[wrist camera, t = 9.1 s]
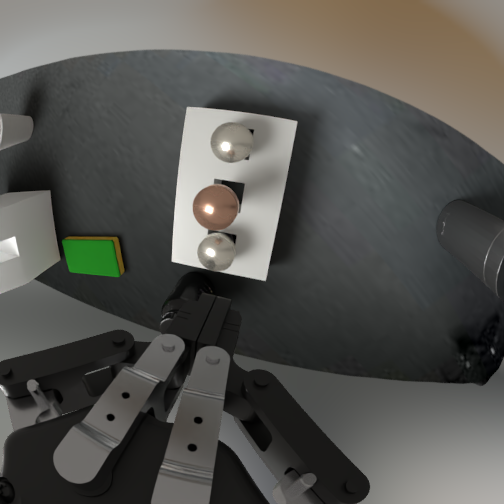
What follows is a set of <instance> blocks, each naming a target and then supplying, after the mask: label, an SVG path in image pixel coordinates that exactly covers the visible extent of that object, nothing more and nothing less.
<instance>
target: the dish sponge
mask: <svg viewBox="0 0 504 504" xmlns="http://www.w3.org/2000/svg"><path fill="white" fill-rule="evenodd" d="M62 244H63V248H64V252H65V256H66V260H67V264H68V268H69V271H70V272H75V273H84V274H93V275H103V276H113V277H119V276H120V275H121V274H123V273H124V271H125V270H124V265H123V261H122V256H121V250H120V245H119V239H118V238H117V237H67V238H65V239H63V240H62Z"/></svg>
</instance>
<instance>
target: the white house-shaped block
mask: <svg viewBox="0 0 504 504" xmlns="http://www.w3.org/2000/svg"><path fill="white" fill-rule="evenodd" d="M59 260H61V259H60V254H59V249H58V244H57V239H56V233H55V226H54V219H53V212H52V203H51V193H50V190H48V191H28V192H12V193H6V194H3V195H0V294H1V293H3V292H6V291H9V290H11V289H14V288H17V287H19V286H22V285H25V284H27V283H28V282H30V281H31V280H32V279H34V278H35V277H37V276H38V275H39V274H41V273H42V272H44V271H45V270H46V269H48V268H49V267H51V266H52V265H53V264H55V263H56V262H58V261H59Z"/></svg>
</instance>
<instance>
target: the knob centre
mask: <svg viewBox="0 0 504 504" xmlns="http://www.w3.org/2000/svg"><path fill="white" fill-rule="evenodd" d="M238 212H239V201H238V198H237V196H236V194H235V193H234V191H233V190H232V189H230V188H229V187H227V186H225V185H221V184H213V185H209V186H207V187H206V188H204V189H202V190H201V191H200V192H199V193H198V194H197V195H196V196H195V198H194V201H193V214H194V217H195V219H196V220H197V222H198V223H199V224H200V225H201V226H203V227H204V228H206V229H209V230H213V231H218V230H223V229H225V228H227V227H229V226H230V225H231V224H232V223H233V221H234V220H235V218H236V216H237V215H238Z"/></svg>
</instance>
